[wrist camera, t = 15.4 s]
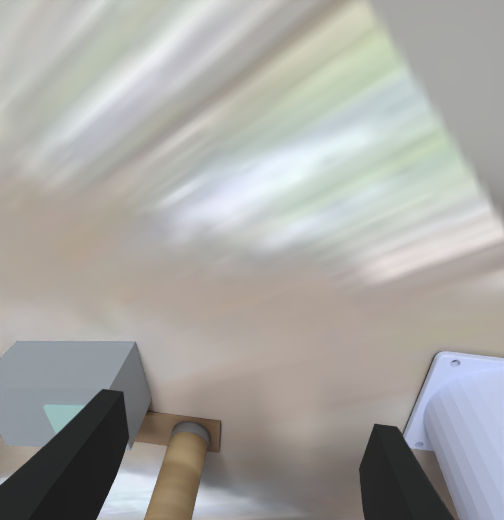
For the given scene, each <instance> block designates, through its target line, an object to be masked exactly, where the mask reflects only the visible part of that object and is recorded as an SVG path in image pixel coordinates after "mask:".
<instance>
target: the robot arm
mask: <svg viewBox="0 0 504 520" xmlns="http://www.w3.org/2000/svg"><path fill="white" fill-rule="evenodd" d="M454 360H456V361H455V362H452V361H454ZM128 440H129V431H128V423H127V416H126V408H125V401H124V393H123V391H116V390H108V389H102V390H101V391H99V392H98V393H97V394H96V395H95V396H94V397H93V398H92V399H91V400H90V401H89V402H88V403H87V404H86V406H85V407H84V408H83V409H82V410H81V411H80V412H79V413H78V414H77V415H76V416H75V417H74V418H73V419H72V420H71V421H70V422H69V423H67V424H66V425H65V426H64V427H63V428H62V429H61V430H60V431H59V432H58V433H57V434H56V435H55V436H54V437H53V438H52V439H51V440H50V441H49V442H48V443H47V444H46V445H45V446H43V447H42V448H41V449H40V450H39V451H38V452H37V453H36V454H35V455H34V456H33V457H32V458H31V459H30V460H28V461H27V462H26V463H25V464H24V465H23V466H22V467H20V468H19V469H18V470H17V471H16V472H15V473H14V474H13V475H11V476H10V477H9V478H8V479H7V480H6V481H5V482H3V483H2V484H1V485H0V520H96V519H97V517H98V515H99V513H100V510H101V508H102V506H103V504H104V502H105V500H106V497H107V495H108V493H109V491H110V489H111V486H112V484H113V482H114V480H115V478H116V475H117V473H118V470H119V467H120V464H121V461H122V458H123V455H124V452H125V449H126V446H127V443H128ZM410 448H413V449H420V450H428V451H434V452H435V455H436V457H437V460H438V463H439V466H440V468H441V471H442V474H443V476H444V479H445V482H446V485H447V487H448V490H449V493H450V495H451V498H452V501H453V504H454V506H455V509H456V512H457V514H458V517H459V520H504V358H499V357H490V356H482V355H473V354H465V353H456V352H448V351H443V352H440V353H438V354H437V355H436V356H435V358H434V360H433V363H432V365H431V368H430V370H429V373H428V375H427V377H426V380H425V382H424V385H423V387H422V390H421V392H420V395H419V397H418V400H417V402H416V405H415V407H414V409H413V412H412V414H411V417H410V419H409V422H408V424H407V427H406V429H405V432H404V434H403V435H402V433H401V432H400V430H399V429H398V428H397V427H395V426H388V425H380V424H374V427H373V430H372V433H371V436H370V439H369V442H368V445H367V448H366V450H365V453H364V456H363V459H362V462H361V465H360V468H359V472H360V484H361V495H362V505H363V512H364V518H365V520H454V518H453V517H452V515H451V514H450V512H449V510H448V509H447V507H446V506H445V504H444V503H443V501H442V500H441V498H440V497H439V495H438V494H437V492H436V490H435V489H434V487H433V486H432V484H431V482H430V481H429V479H428V477H427V476H426V474H425V473H424V471H423V469H422V468H421V466H420V464H419V463H418V461H417V459H416V458H415V456H414V454H413V452H412V451H411V449H410Z"/></svg>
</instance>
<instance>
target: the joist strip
mask: <svg viewBox="0 0 504 520" xmlns="http://www.w3.org/2000/svg"><path fill="white" fill-rule="evenodd" d="M183 421H193V422H197V423H199V424H201V425H203V426H204V427H206V428H207V430H208V431H209V433H210V441H209V445H208V450H207V451H211V452H218V453H219V446H220V425H221V421H217V420H209V419H201V418H194V417H186V416H179V415H171V414H163V413H156V412H148V411H147V412H146V414H145V417H144V419H143V421H142V424H141V426H140V429H139V431H138V433H137V436H136V438H135V441H137V442H144V443H152V444H159V445H167V446H168V444H169V439H170V436H171V433H172V430H173V427H174V426H175V425H176V424H177V423H179V422H183Z"/></svg>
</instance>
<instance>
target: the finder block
mask: <svg viewBox="0 0 504 520" xmlns="http://www.w3.org/2000/svg"><path fill="white" fill-rule="evenodd" d="M102 389H108V390H116V391H123V393H124V401H125V408H126V416H127V423H128V431H129V440H128V443H127V446H126V449H125V450H131V448H132V445H133V443H134V441H135V438H136V436H137V433H138V431H139V429H140V426H141V424H142V421H143V419H144V417H145V414H146V412H147V409H148V407H149V405H150V402H151V400H152V398H151V394H150V391H149V387H148V384H147V380H146V377H145V373H144V370H143V366H142V363H141V359H140V356H139V352H138V349H137V345H136V342H131V341H17V342H16V343H15V344H14V345H13V346H12V347H11V348H10V349H9V350H8V351H7V352H6V353H5V354H4V355H3V356H2V357H1V358H0V435H1V437H2V438H3V440H4V442H5V444H6V445H7V446H34V447H43V446H45V445H46V444H47V443H48V442H49V441H50V440H51V439H52V438H53V437H54V436H55V435H56V434H57V433H58V432H59V431H60V430H61V429H62V428H63V427H64V426H65V425H66V424H67V423H69V422H70V421H71V420H72V419H73V418H74V417H75V416H76V415H77V414H78V413H79V412H80V411H81V410H82V409H83V408H84V407H85V406H86V404H87V403H88V402H89V401H90V400H91V399H92V398H93V397H94V396H95V395H96V394H97V393H98V392H99V391H101V390H102Z"/></svg>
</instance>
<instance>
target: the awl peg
mask: <svg viewBox="0 0 504 520" xmlns="http://www.w3.org/2000/svg"><path fill="white" fill-rule="evenodd" d="M209 441H210V433H209V431H208V430H207V428H206V427H204V426H203V425H201V424H199V423H197V422H193V421H183V422H179V423H177V424H176V425H175V426H174V427H173V430H172V433H171V436H170V439H169V444H168V447H167V451H166V454H165V457H164V460H163V463H162V466H161V469H160V472H159V475H158V478H157V481H156V484H155V488H154V491H153V494H152V497H151V500H150V503H149V506H148V509H147V512H146V515H145V518H144V520H191V519H192V515H193V510H194V506H195V501H196V497H197V492H198V488H199V483H200V478H201V474H202V469H203V465H204V460H205V456H206V452H207V450H208V445H209Z"/></svg>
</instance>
